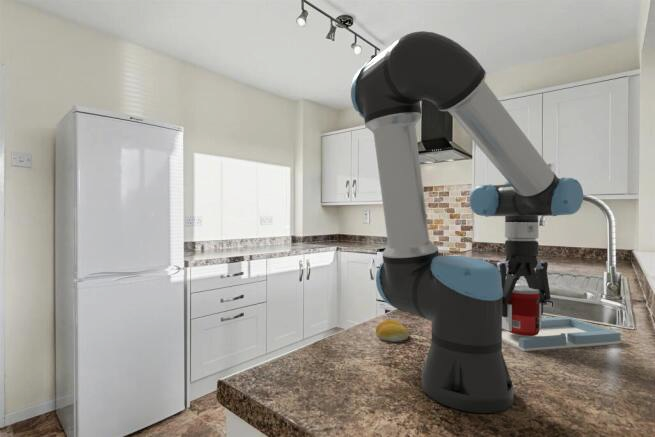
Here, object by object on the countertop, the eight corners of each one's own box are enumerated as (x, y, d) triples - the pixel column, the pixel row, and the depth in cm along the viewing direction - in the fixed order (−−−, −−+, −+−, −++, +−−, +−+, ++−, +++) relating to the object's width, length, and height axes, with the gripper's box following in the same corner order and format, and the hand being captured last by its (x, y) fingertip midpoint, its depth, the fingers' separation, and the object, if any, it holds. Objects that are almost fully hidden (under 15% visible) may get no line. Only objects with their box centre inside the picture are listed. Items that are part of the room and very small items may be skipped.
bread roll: (380, 343, 86) (380, 327, 86) (373, 332, 95) (373, 317, 95) (413, 342, 87) (413, 326, 87) (403, 331, 96) (403, 316, 96)
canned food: (544, 337, 85) (544, 292, 85) (509, 335, 86) (509, 290, 87) (532, 327, 92) (532, 286, 92) (500, 325, 94) (500, 285, 94)
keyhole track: (523, 351, 81) (523, 340, 81) (482, 331, 96) (482, 321, 96) (620, 343, 86) (620, 332, 86) (567, 325, 101) (567, 316, 101)
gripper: (495, 240, 84) (495, 335, 84) (568, 240, 88) (568, 330, 88) (476, 239, 91) (476, 326, 91) (544, 238, 95) (544, 322, 95)
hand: (521, 328), depth 89 cm, fingers closed on canned food, 8 cm apart
